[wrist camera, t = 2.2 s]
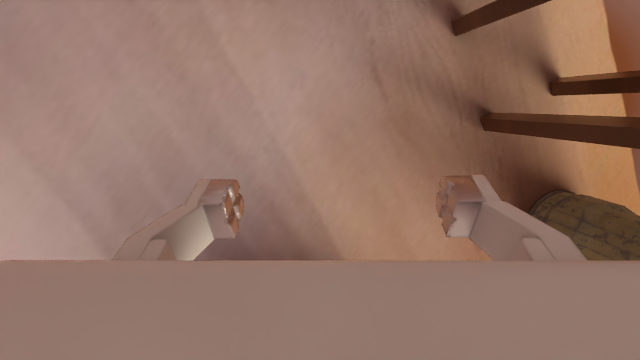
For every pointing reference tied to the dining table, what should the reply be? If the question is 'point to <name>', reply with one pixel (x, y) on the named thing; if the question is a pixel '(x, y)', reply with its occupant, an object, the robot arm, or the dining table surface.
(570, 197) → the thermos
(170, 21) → the dining table surface
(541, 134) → the crate stand
